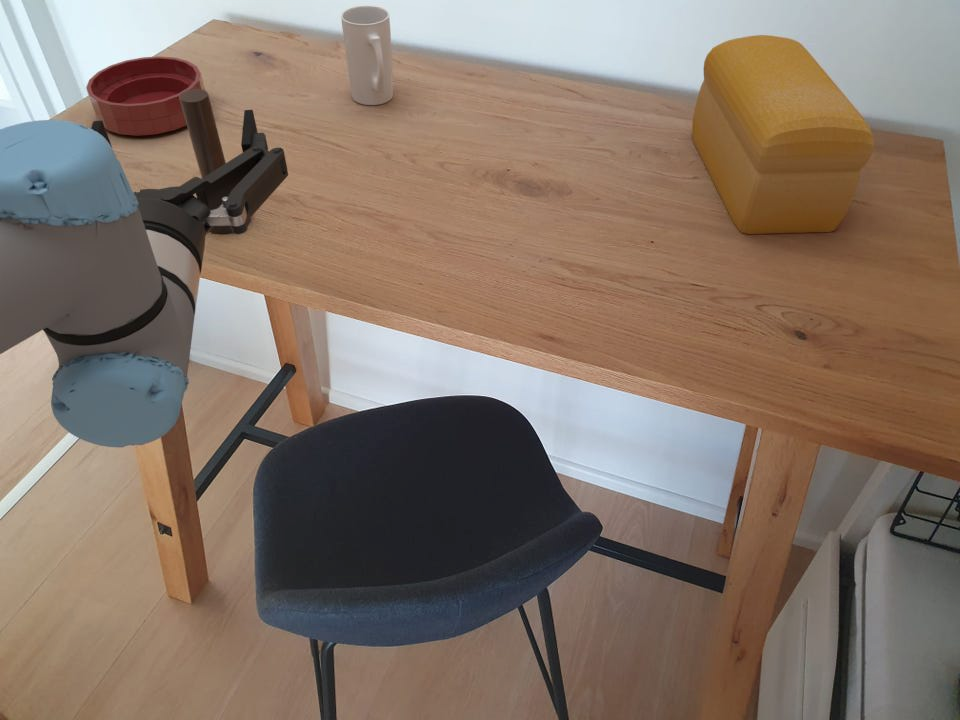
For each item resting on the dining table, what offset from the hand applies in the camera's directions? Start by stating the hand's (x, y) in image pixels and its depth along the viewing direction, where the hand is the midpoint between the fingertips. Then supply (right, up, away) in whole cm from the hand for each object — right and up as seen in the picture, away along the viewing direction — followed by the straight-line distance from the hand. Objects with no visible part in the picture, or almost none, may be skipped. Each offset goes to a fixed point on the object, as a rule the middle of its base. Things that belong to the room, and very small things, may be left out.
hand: (178, 128), depth 72 cm
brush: (-2, -5, +20) cm, 21 cm away
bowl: (-19, +14, +39) cm, 45 cm away
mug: (+13, +17, +42) cm, 47 cm away
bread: (+65, +2, +28) cm, 71 cm away
